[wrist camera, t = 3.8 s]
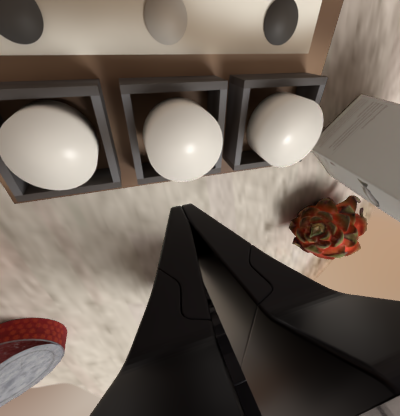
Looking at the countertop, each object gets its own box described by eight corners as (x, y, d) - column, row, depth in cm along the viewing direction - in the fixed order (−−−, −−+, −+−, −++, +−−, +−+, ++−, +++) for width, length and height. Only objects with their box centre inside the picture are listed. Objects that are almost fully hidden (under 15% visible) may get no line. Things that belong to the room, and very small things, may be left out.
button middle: (209, 162, 18) (220, 176, 16) (147, 170, 17) (151, 186, 15) (212, 95, 15) (225, 103, 13) (137, 99, 14) (141, 109, 12)
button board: (283, 155, 25) (310, 174, 22) (22, 190, 19) (2, 224, 16) (329, -19, 17) (384, -31, 13) (-121, -58, 10) (-231, -101, 7)
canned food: (17, 288, 31) (10, 333, 24) (79, 312, 37) (90, 355, 29) (-52, 363, 29) (-87, 442, 21) (26, 377, 34) (22, 444, 26)
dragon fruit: (270, 204, 32) (324, 193, 37) (277, 261, 33) (330, 243, 38) (325, 202, 24) (384, 189, 30) (334, 277, 25) (390, 251, 30)
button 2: (106, 168, 17) (105, 184, 15) (33, 177, 16) (23, 195, 14) (87, 97, 14) (83, 107, 12) (-6, 102, 13) (-25, 113, 11)
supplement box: (305, 146, 26) (419, 213, 16) (361, 91, 23) (530, 131, 14) (328, 177, 30) (428, 244, 21) (377, 133, 28) (514, 185, 18)
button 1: (292, 151, 20) (310, 163, 18) (242, 158, 19) (256, 171, 17) (310, 90, 17) (333, 96, 15) (251, 93, 16) (269, 101, 14)
